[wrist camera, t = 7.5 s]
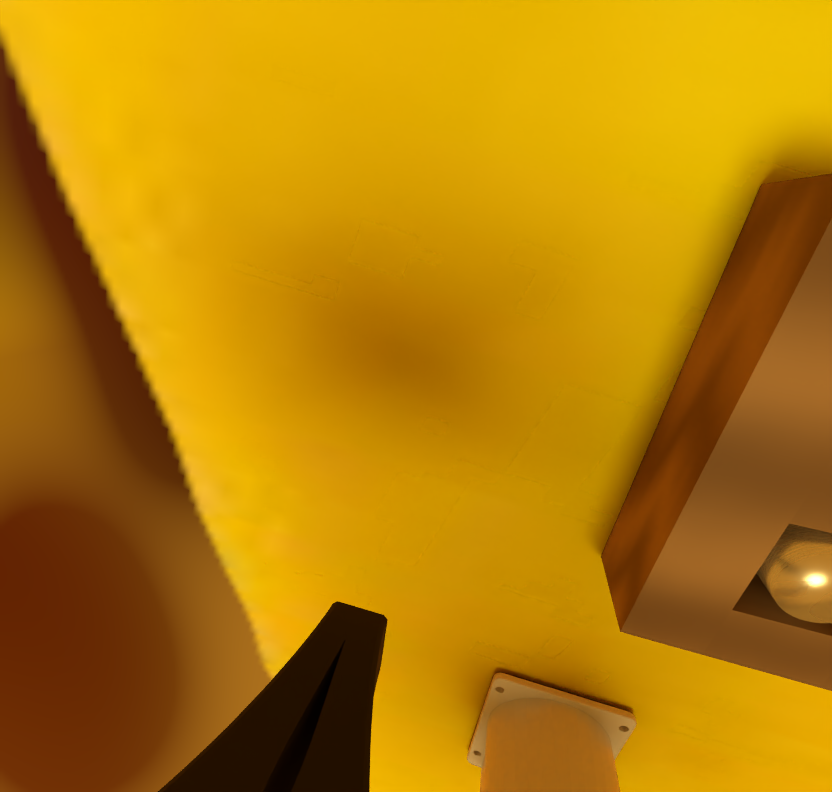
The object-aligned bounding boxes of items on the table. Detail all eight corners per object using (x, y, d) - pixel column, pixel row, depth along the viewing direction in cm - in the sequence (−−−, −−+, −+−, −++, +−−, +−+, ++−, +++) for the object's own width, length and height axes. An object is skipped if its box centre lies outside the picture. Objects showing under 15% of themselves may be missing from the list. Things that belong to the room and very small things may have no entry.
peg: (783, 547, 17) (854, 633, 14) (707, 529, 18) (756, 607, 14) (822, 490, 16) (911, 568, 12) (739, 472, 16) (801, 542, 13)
